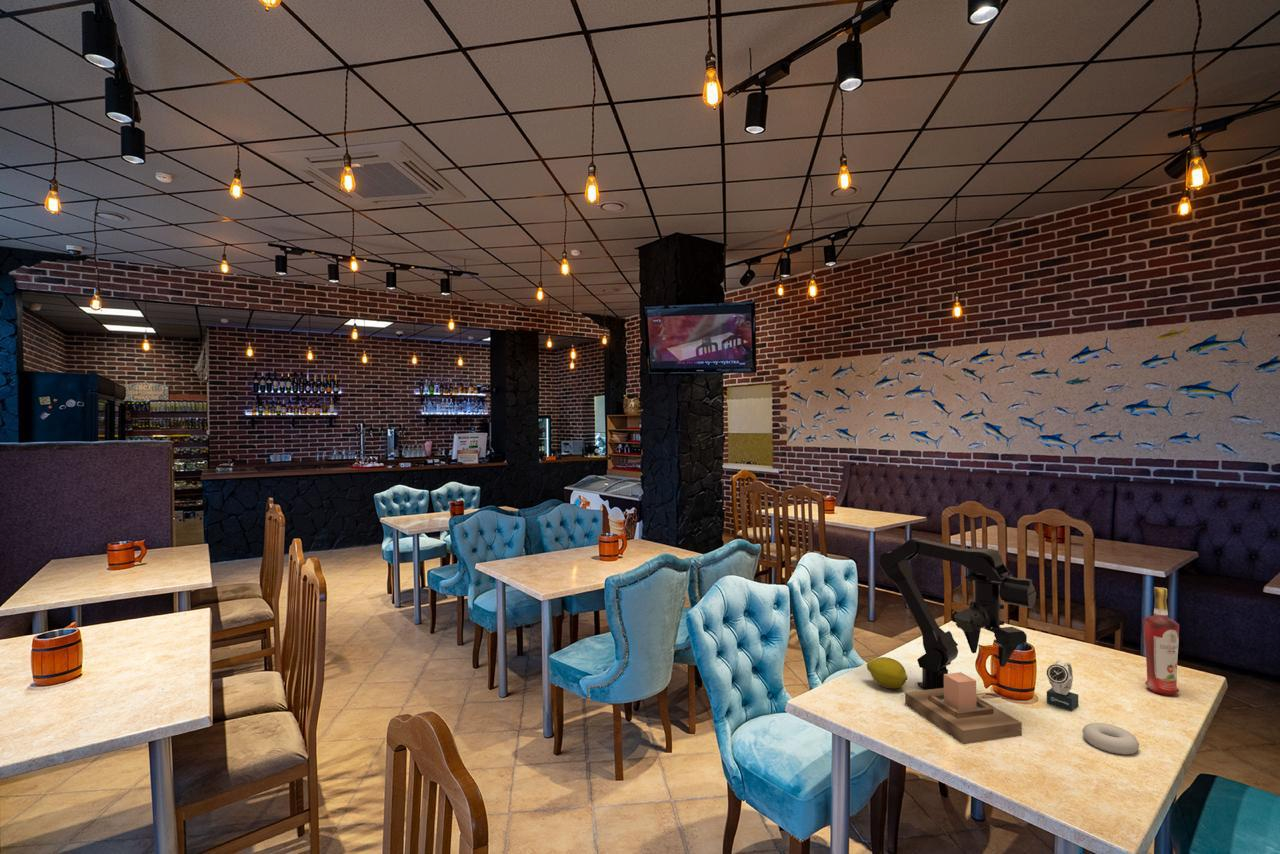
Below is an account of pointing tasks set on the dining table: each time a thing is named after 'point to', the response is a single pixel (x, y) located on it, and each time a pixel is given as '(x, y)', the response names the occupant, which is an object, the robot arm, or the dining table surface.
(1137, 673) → the dining table surface
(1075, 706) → the watch
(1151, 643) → the liquor
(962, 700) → the terracotta block
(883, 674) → the lemon
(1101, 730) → the donut
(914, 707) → the brown flat frame
